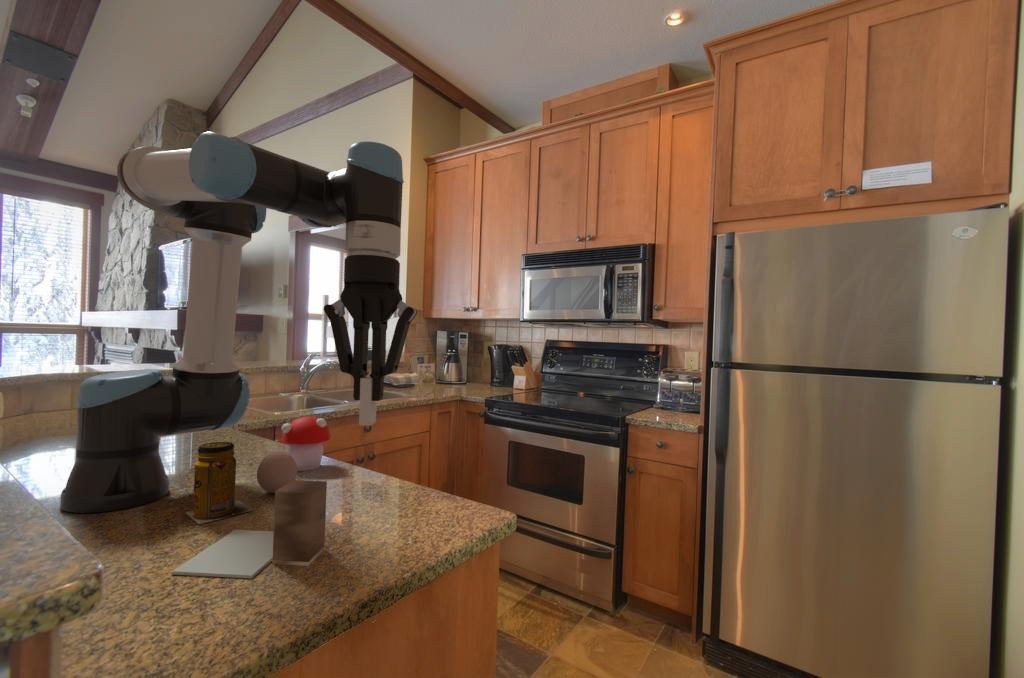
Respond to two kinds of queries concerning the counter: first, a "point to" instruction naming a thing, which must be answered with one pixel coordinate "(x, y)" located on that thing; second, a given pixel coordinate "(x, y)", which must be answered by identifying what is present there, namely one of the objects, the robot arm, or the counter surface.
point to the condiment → (215, 484)
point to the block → (299, 522)
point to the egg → (276, 470)
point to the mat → (232, 556)
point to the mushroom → (306, 441)
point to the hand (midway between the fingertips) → (367, 423)
